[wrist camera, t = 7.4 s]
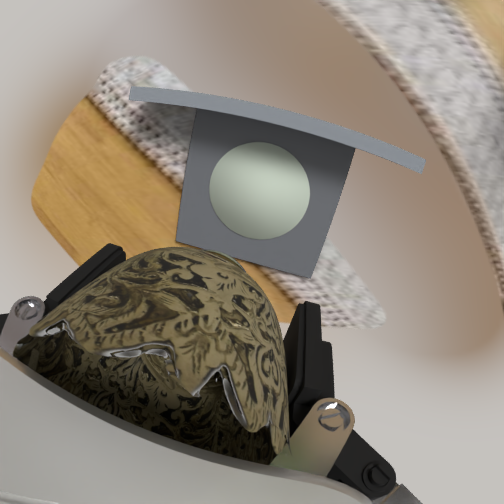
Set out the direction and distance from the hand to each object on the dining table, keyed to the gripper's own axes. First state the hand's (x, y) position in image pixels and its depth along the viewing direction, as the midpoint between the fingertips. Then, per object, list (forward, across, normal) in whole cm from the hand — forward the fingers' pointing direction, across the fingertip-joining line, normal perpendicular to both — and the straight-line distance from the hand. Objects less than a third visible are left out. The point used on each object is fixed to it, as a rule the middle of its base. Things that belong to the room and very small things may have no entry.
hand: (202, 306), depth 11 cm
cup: (+2, 0, 0) cm, 2 cm away
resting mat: (+17, 0, 0) cm, 17 cm away
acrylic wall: (+17, 0, -7) cm, 19 cm away
